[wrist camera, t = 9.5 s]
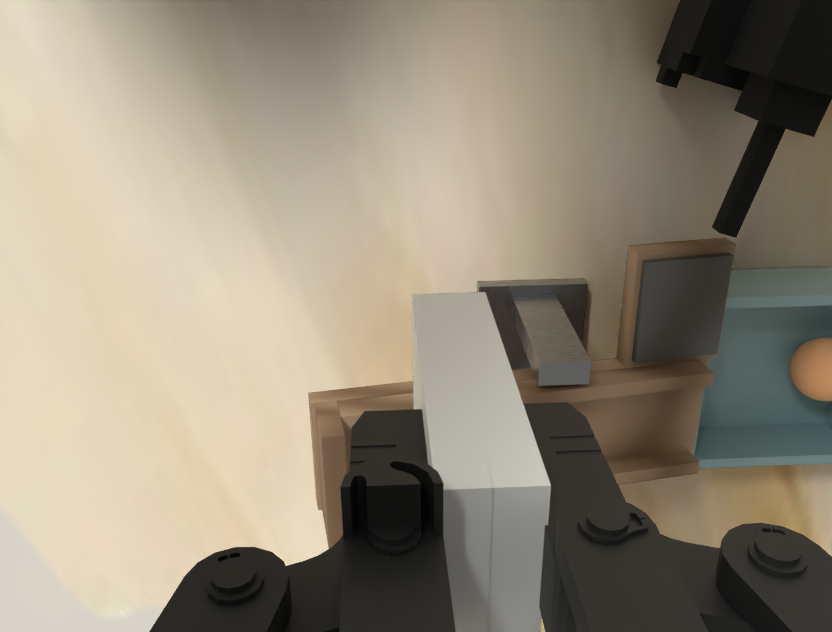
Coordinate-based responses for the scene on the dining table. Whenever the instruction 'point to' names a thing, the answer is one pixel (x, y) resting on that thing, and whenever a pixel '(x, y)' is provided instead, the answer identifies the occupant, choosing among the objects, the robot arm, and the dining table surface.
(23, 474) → the dining table surface
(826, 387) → the ball
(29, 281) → the dining table surface
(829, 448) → the tray
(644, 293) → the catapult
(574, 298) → the stand
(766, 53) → the toy
